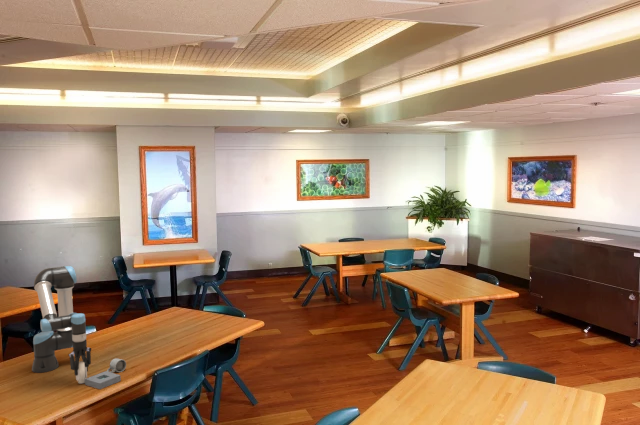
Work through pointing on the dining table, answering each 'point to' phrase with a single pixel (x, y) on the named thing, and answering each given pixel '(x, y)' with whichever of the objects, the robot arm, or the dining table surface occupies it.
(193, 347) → the dining table surface
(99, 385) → the bore block
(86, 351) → the robot arm
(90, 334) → the dining table surface
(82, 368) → the dowel pin
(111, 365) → the ceramic mug
